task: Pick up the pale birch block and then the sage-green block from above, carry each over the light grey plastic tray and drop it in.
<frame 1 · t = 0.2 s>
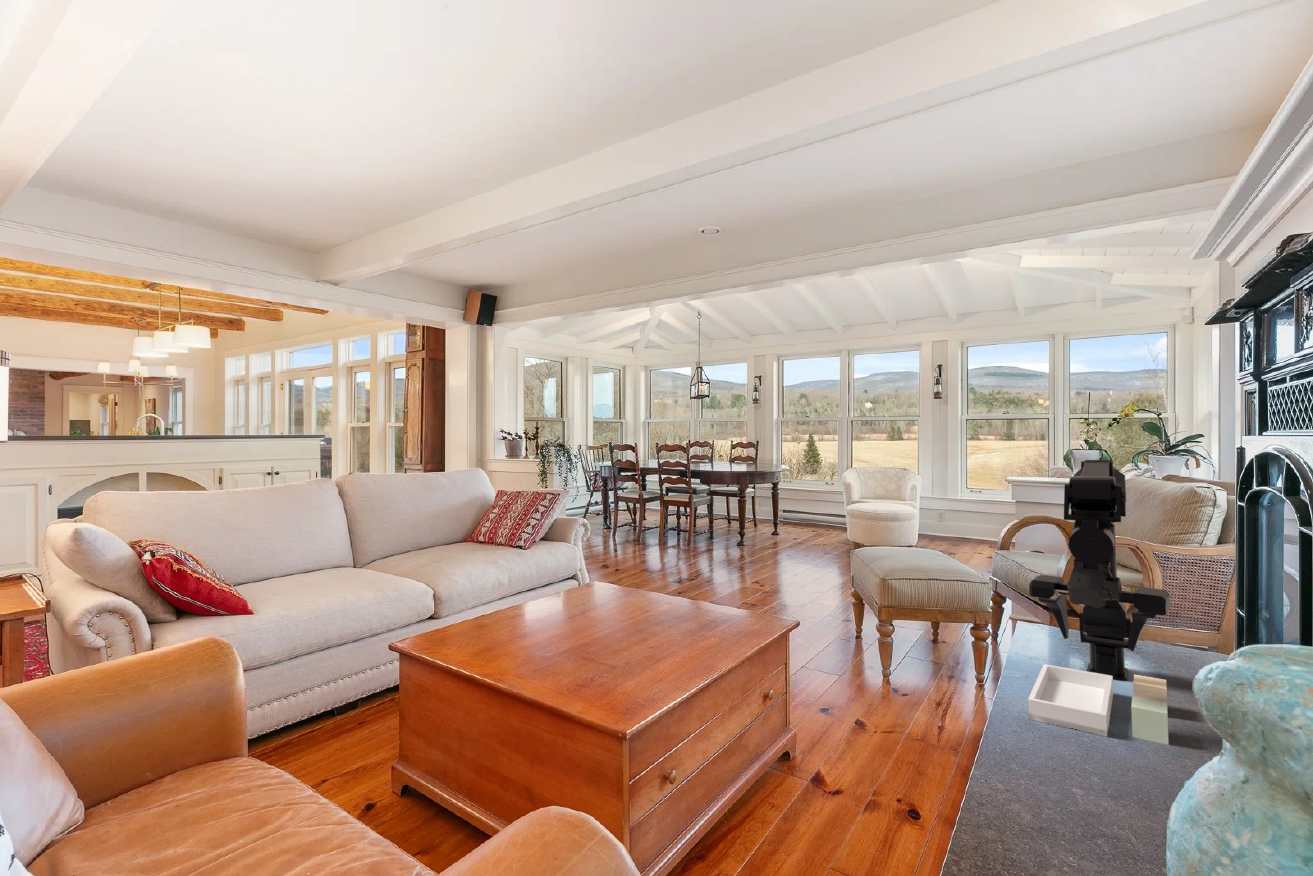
hand: (1098, 644, 103), 14 cm above the hearth, tool pointing down, fingers open, 9 cm apart
birch block: (1151, 709, 109), on the hearth
tray: (1072, 706, 111), on the hearth
green block: (1150, 735, 100), on the hearth
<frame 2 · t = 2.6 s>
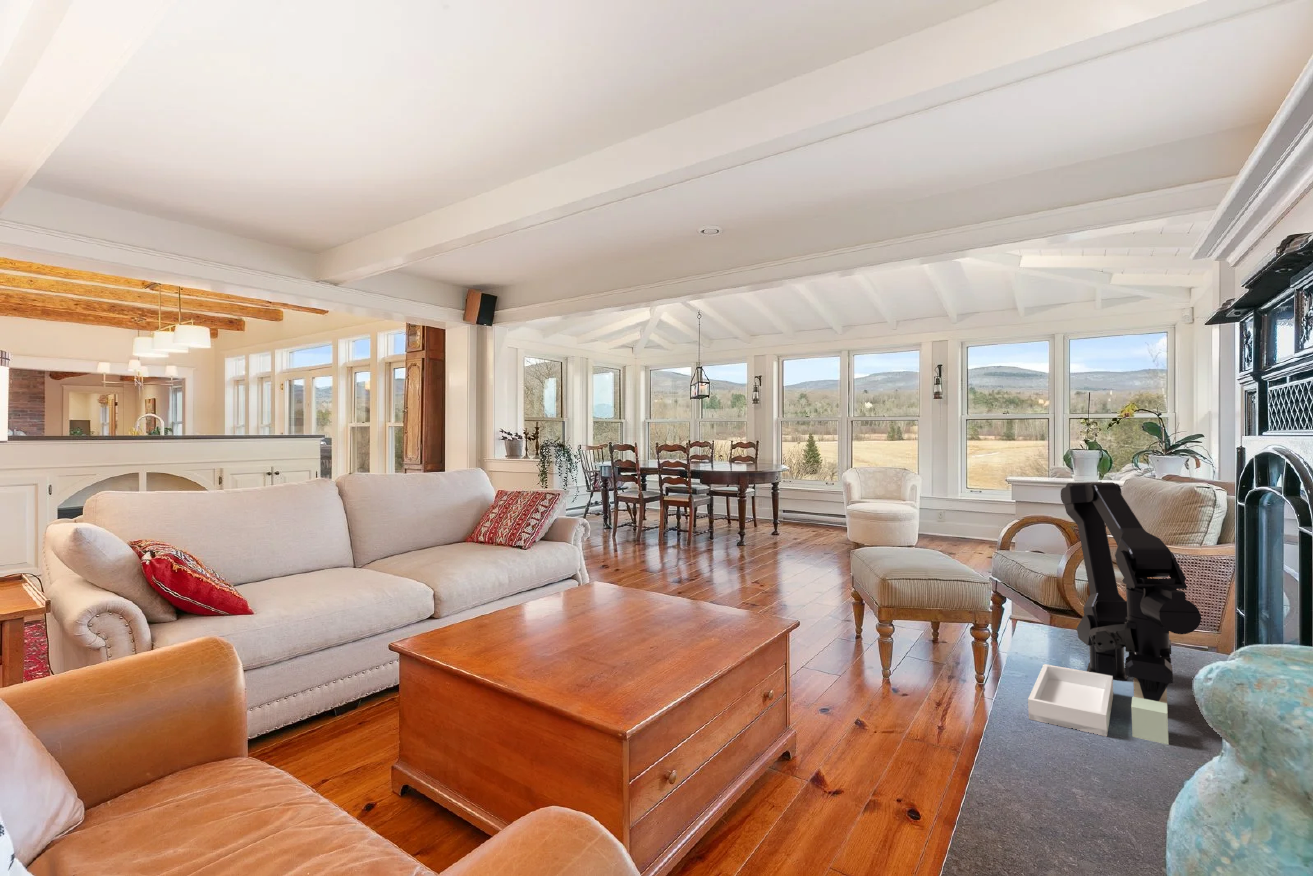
hand: (1150, 703, 109), 1 cm above the hearth, tool pointing down, fingers closed on birch block, 4 cm apart
birch block: (1151, 709, 109), on the hearth, touching gripper
everything else where it was.
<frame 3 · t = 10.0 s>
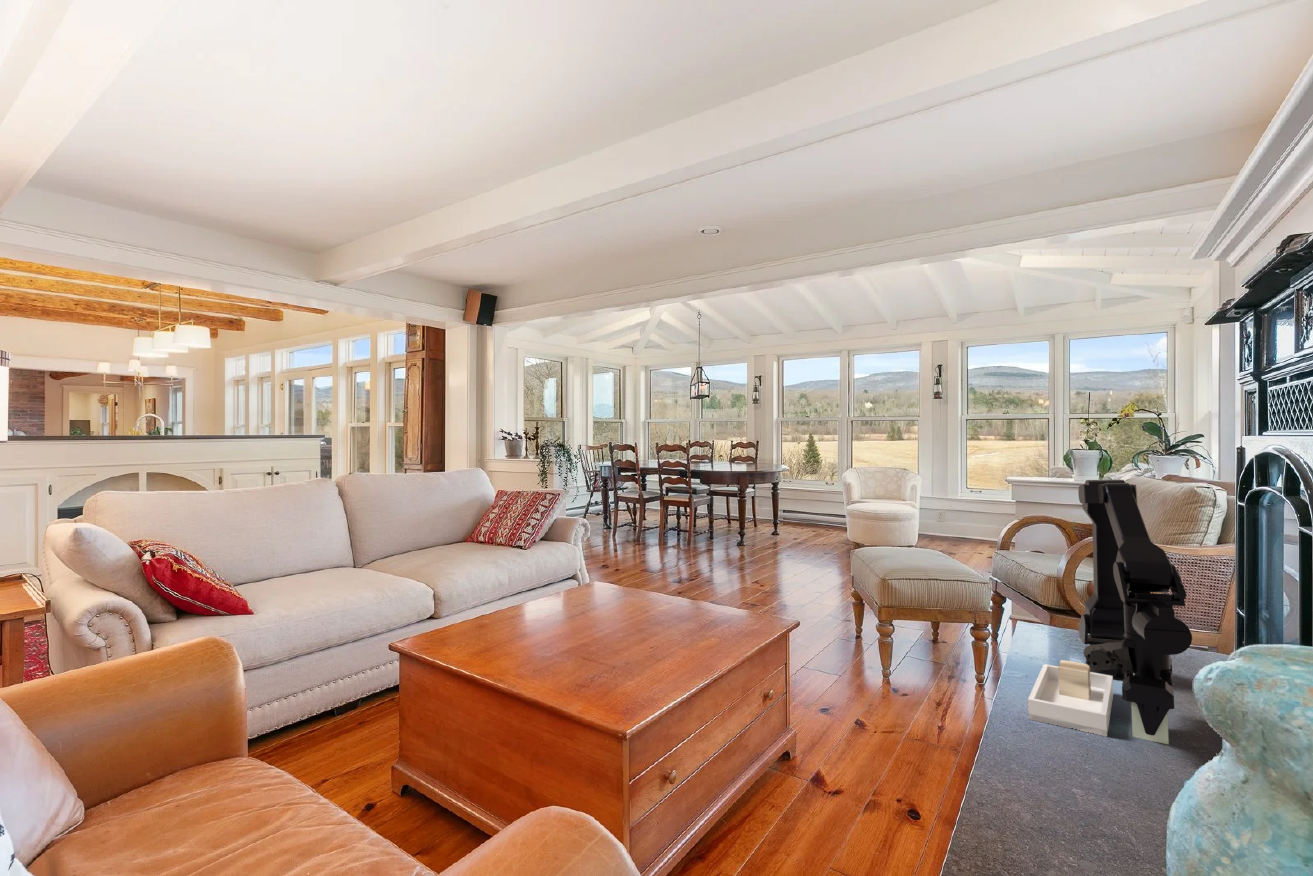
hand: (1150, 728, 100), 1 cm above the hearth, tool pointing down, fingers closed on green block, 4 cm apart
birch block: (1075, 693, 114), point 1 cm above the hearth, touching tray
green block: (1150, 734, 100), on the hearth, touching gripper
when the fingers open (4 cm above the hearth, at t = 13.7 s): green block drops 2 cm, resting on tray.
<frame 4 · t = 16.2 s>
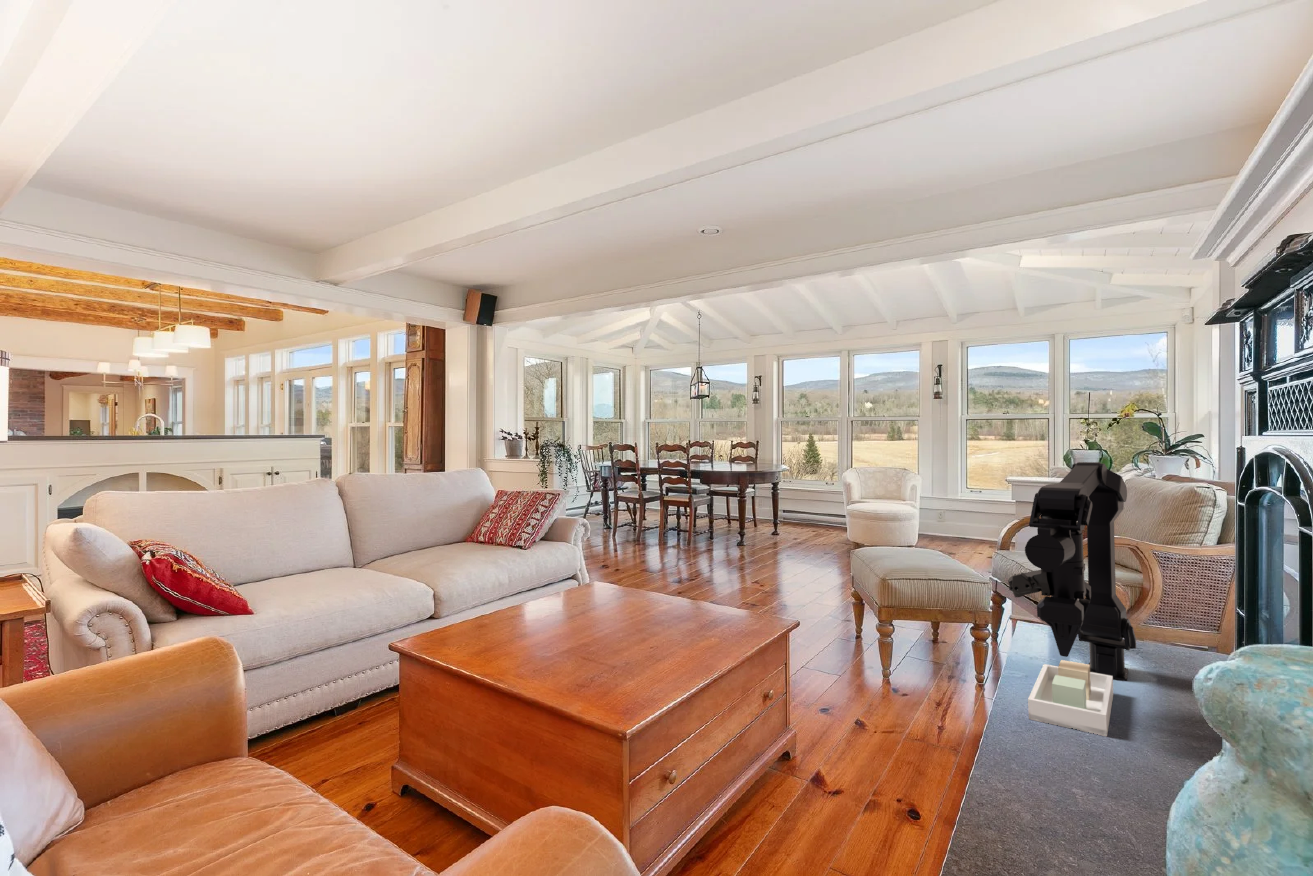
hand: (1067, 648, 107), 12 cm above the hearth, tool pointing down, fingers open, 9 cm apart
green block: (1069, 710, 108), point 1 cm above the hearth, touching tray
everything else where it was.
at the end: birch block inside the target area on the tray (4.0 cm from its centre), point 1.0 cm above the tray's base; green block inside the target area on the tray (4.5 cm from its centre), point 1.0 cm above the tray's base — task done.
